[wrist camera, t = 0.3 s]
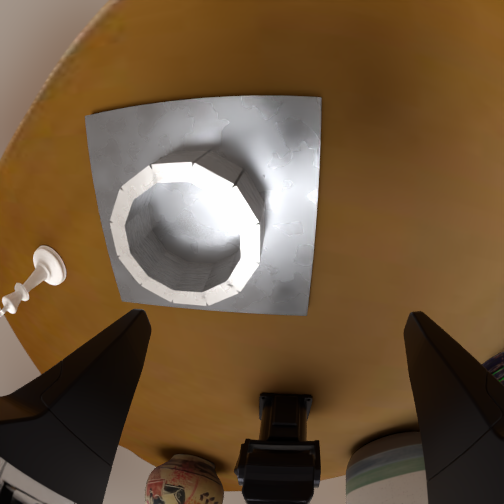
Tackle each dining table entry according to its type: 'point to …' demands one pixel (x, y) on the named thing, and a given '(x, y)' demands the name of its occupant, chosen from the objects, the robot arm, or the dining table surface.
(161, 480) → the ceramic jug
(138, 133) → the duct collar
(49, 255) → the chess piece
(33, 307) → the dining table surface
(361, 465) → the vase
